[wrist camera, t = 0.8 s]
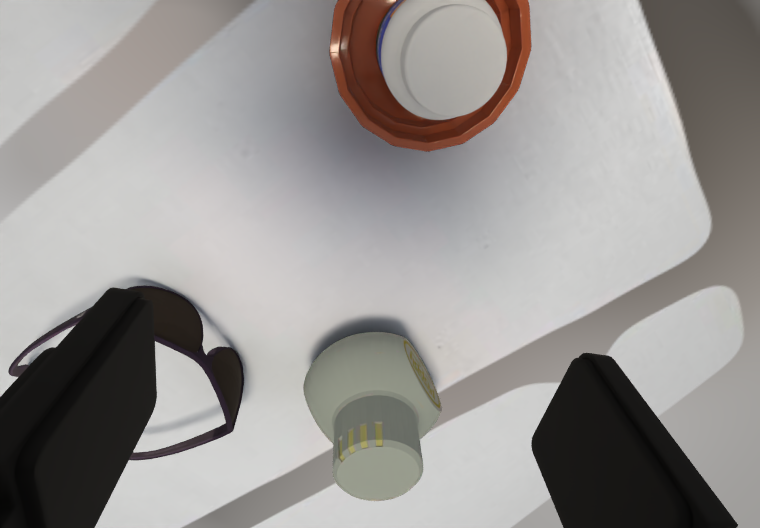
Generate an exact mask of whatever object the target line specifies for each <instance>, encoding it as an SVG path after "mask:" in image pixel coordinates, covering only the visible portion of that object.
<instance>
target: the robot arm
mask: <svg viewBox="0 0 760 528" xmlns="http://www.w3.org/2000/svg"><path fill="white" fill-rule="evenodd" d="M156 398H157V390H156V364H155V338H154V312H153V302H152V301H151V300H147V299H145V296H144V294H143V292H141V291H134V290H127V289H120V288H110V289H108V290H107V291H106V292H105V293H104V295H103V296H102V297H101V298H100V299H99V300H98V301H97V302H96V303H95V305H94V306H93V307H92V308H91V309H90V310H89V311H88V312H87V314H86V315H85V316H84V317H83V318H82V319H81V320H80V321H79V322H78V324H77V325H76V326H75V327H74V328H73V329H72V330H71V331H70V333H69V334H68V335H67V336H66V337H65V338H64V339H63V340H62V341H61V343H60V344H59V345H58V346H57V347H56V348H53V347H51V348H49V349H46V350H45V351H43V352H42V353H41V354H40V355H39V356H38V357H37V358H36V359H35V360H34V361H33V362H32V363H31V364H30V365H29V367H28V368H27V369H26V370H25V371H24V372H23V373H22V374H21V375H20V376H19V377H18V378H17V380H16V381H15V382H14V383H13V384H12V385H11V386H10V387H9V388H8V389H7V390H6V391H5V393H4V394H3V395H2V396H1V397H0V528H95V526H96V524H97V522H98V520H99V518H100V516H101V514H102V512H103V510H104V508H105V506H106V504H107V502H108V500H109V498H110V496H111V494H112V492H113V490H114V488H115V486H116V484H117V482H118V480H119V478H120V476H121V474H122V472H123V470H124V468H125V466H126V464H127V462H128V460H129V458H130V456H131V454H132V452H133V450H134V449H135V447H136V445H137V443H138V441H139V439H140V437H141V435H142V433H143V431H144V429H145V427H146V425H147V423H148V421H149V419H150V417H151V415H152V413H153V410H154V407H155V404H156ZM532 451H533V454H534V456H535V459H536V461H537V464H538V466H539V469H540V471H541V474H542V476H543V478H544V481H545V483H546V486H547V488H548V491H549V493H550V496H551V498H552V501H553V503H554V505H555V508H556V510H557V513H558V515H559V517H560V520H561V523H562V525H563V527H564V528H736V527H737V526H738V524H737V523H736V522H735V520H734V519H733V518H732V516H731V515H730V514H729V512H728V511H727V509H726V508H725V507H724V505H723V504H722V503H721V501H720V500H719V499H718V498H717V496H716V495H715V494H714V492H713V491H712V490H711V488H710V487H709V486H708V484H707V483H706V482H705V480H704V479H703V478H702V476H701V475H700V474H699V472H698V471H697V470H696V468H695V467H694V466H693V464H692V463H691V462H690V460H689V459H688V458H687V456H686V455H685V454H684V452H683V451H682V450H681V448H680V447H679V446H678V444H677V443H676V442H675V440H674V439H673V438H672V436H671V435H670V434H669V433H668V431H667V430H666V428H665V427H664V426H663V424H662V423H661V422H660V420H659V419H658V418H657V416H656V415H655V414H654V412H653V411H652V410H651V408H650V407H649V406H648V404H647V403H646V402H645V400H644V399H643V398H642V396H641V395H640V394H639V392H638V391H637V390H636V388H635V387H634V386H633V384H632V383H631V382H630V380H629V379H628V378H627V376H626V375H625V374H624V372H623V371H622V370H621V368H620V367H619V366H618V364H617V363H616V362H615V360H614V359H613V358H612V357H610V356H606V355H598V354H592V353H583V354H582V355H581V356H579V358H575V359H574V360H573V361H572V362H571V364H570V366H569V368H568V370H567V372H566V374H565V376H564V378H563V380H562V381H561V383H560V385H559V387H558V389H557V391H556V393H555V395H554V397H553V399H552V400H551V402H550V404H549V406H548V408H547V410H546V412H545V414H544V416H543V418H542V419H541V421H540V423H539V425H538V427H537V429H536V431H535V433H534V435H533V437H532Z"/></svg>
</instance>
